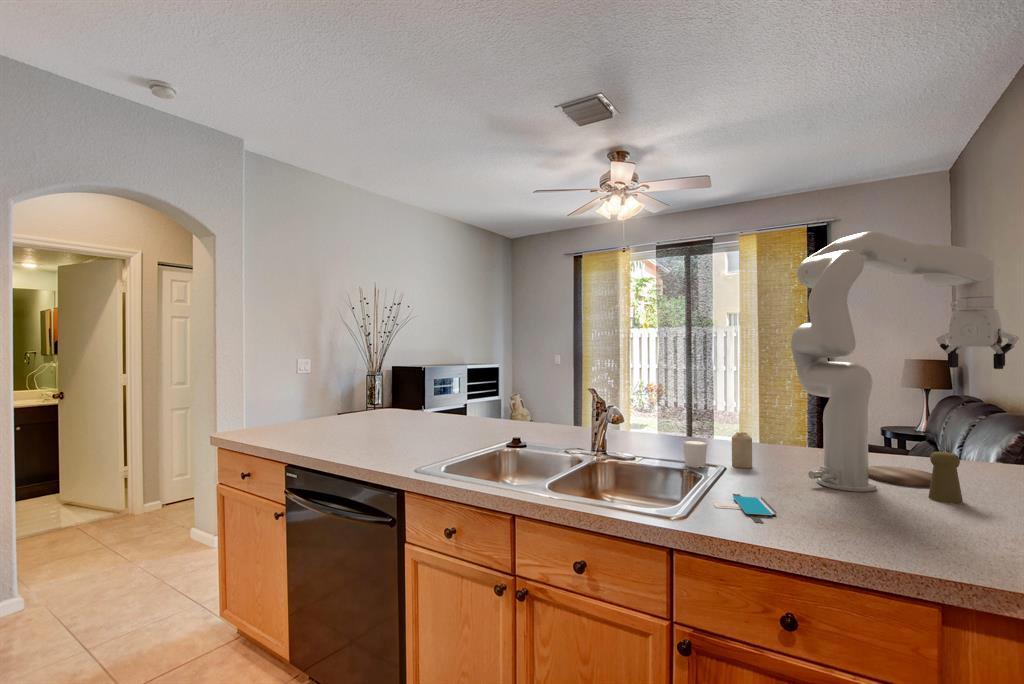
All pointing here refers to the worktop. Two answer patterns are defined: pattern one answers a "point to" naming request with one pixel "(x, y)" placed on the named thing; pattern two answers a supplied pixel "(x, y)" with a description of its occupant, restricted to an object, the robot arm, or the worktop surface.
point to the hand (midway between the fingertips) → (975, 368)
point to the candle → (741, 450)
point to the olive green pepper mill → (945, 478)
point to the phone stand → (749, 507)
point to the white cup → (695, 453)
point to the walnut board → (900, 476)
